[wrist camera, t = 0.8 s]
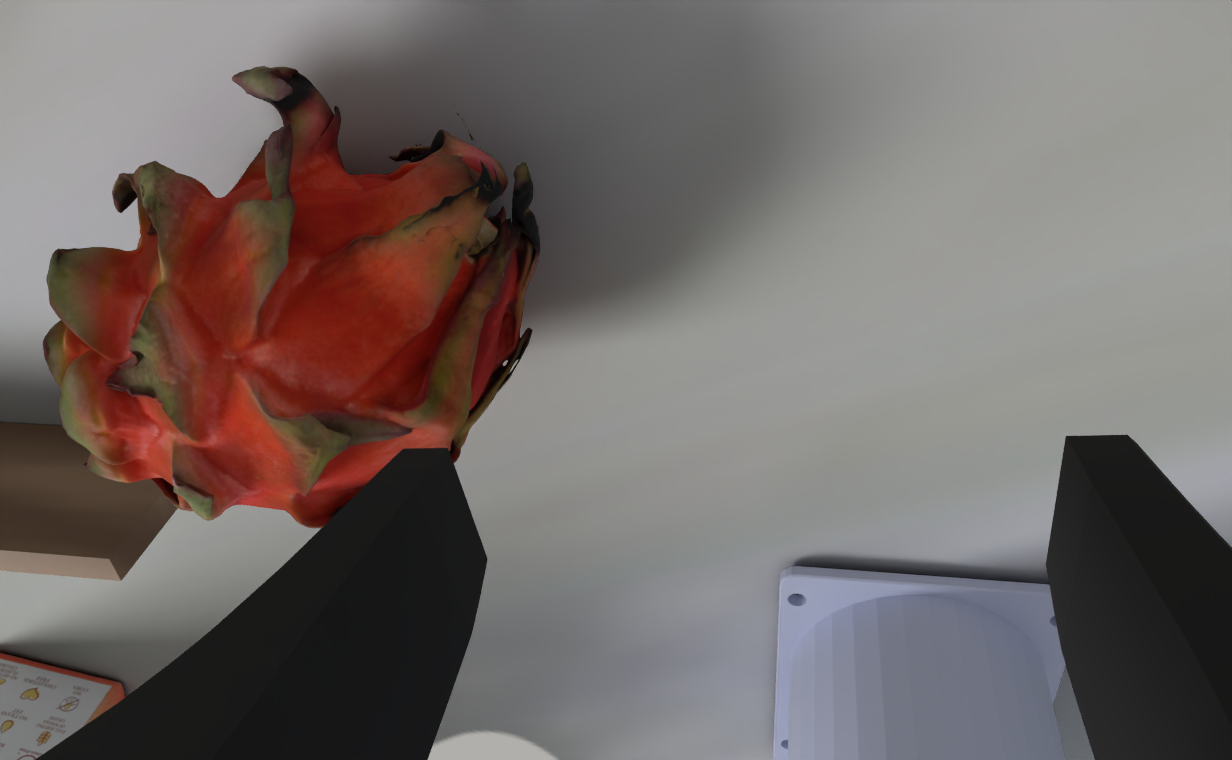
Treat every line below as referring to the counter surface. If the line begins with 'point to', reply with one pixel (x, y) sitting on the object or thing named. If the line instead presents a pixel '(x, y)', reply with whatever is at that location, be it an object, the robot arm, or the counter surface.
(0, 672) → the cracker box
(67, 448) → the box
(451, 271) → the dragon fruit
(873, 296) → the counter surface
